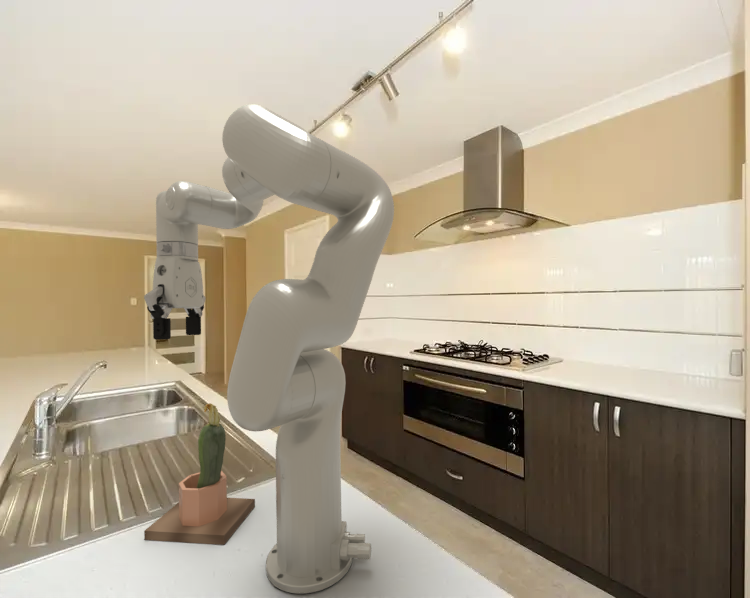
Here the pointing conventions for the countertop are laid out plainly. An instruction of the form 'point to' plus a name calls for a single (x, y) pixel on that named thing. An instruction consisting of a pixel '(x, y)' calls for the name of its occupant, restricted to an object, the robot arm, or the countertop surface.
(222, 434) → the vegetable
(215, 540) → the stand
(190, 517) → the cup
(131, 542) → the countertop surface
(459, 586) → the countertop surface
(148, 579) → the countertop surface
